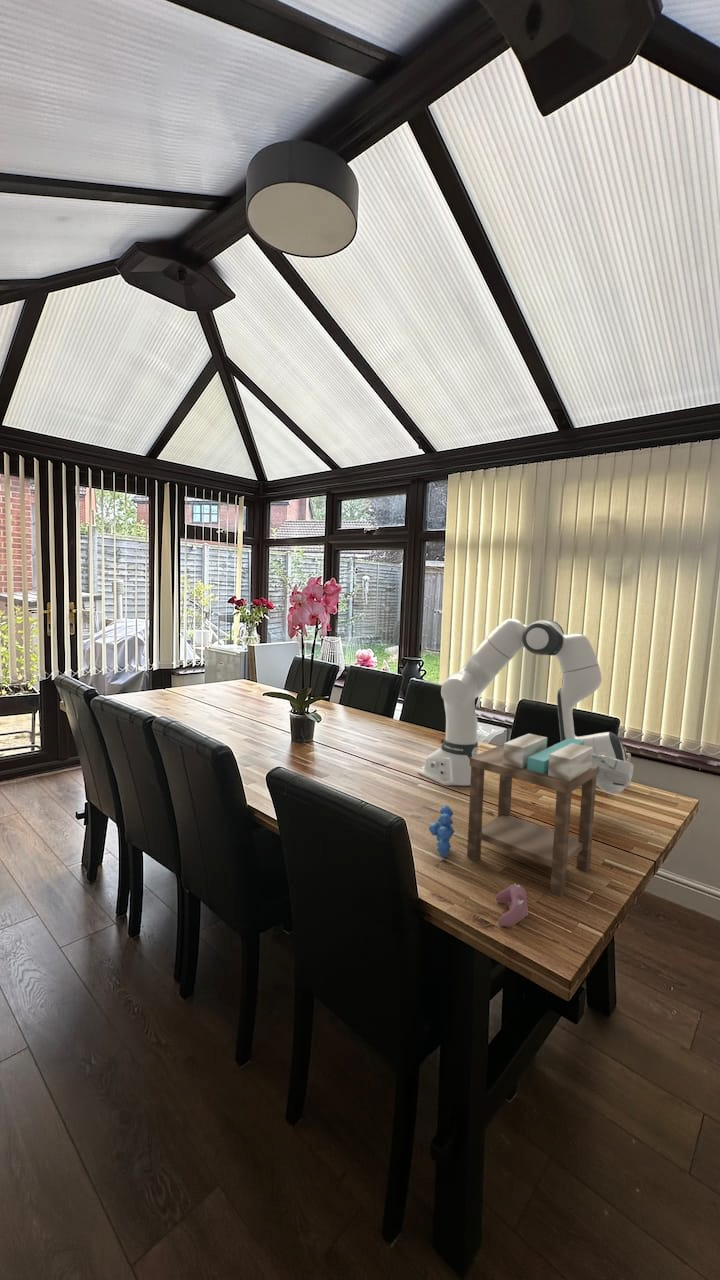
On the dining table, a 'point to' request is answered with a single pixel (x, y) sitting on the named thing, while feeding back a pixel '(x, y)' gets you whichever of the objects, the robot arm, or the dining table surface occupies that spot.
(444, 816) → the grapes
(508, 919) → the video game controller
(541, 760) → the module bar
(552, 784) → the shelf
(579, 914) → the dining table surface
